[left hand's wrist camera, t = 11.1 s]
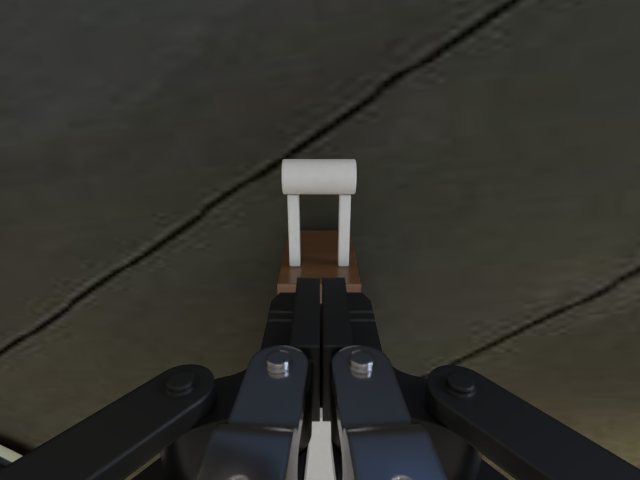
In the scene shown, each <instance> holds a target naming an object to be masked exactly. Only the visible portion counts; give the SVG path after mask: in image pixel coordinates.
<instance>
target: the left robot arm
mask: <svg viewBox="0 0 640 480" xmlns="http://www.w3.org/2000/svg"><path fill="white" fill-rule="evenodd" d="M322 415H323V421H331V457H332V466H333V475H334V480H508V479H507V478H506V477H505V476H503V475H502V474H501V473H499V472H498V471H497V470H495V469H494V468H493V467H491V466H490V465H489V464H488V463H486V462H485V461H484V460H482V454H483V455H484V456H485V457H487V458H488V459H489V460H491V461H492V462H493V463H495V464H496V465H497V466H499V467H500V468H501V469H503V470H504V471H505V472H507V473H508V474H509V475H511V476H512V477H513V478H515V479H516V480H640V469H638V468H637V467H635V466H633V465H632V464H630V463H628V462H626V461H625V460H623V459H621V458H620V457H618V456H616V455H615V454H613V453H611V452H610V451H608V450H606V449H605V448H603V447H601V446H600V445H598V444H596V443H595V442H593V441H591V440H589V439H588V438H586V437H584V436H583V435H581V434H579V433H578V432H576V431H574V430H573V429H571V428H569V427H568V426H566V425H564V424H563V423H561V422H559V421H558V420H556V419H554V418H553V417H551V416H549V415H547V414H546V413H544V412H542V411H541V410H539V409H537V408H536V407H534V406H532V405H531V404H529V403H527V402H526V401H524V400H522V399H521V398H519V397H517V396H516V395H514V394H512V393H511V392H509V391H507V390H505V389H504V388H502V387H500V386H499V385H497V384H495V383H494V382H492V381H490V380H489V379H487V378H485V377H484V376H482V375H480V374H479V373H477V372H475V371H473V370H470V369H468V368H465V367H461V366H454V365H446V366H441V367H438V368H436V369H434V370H433V371H431V372H430V374H429V375H428V378H427V379H425V378H421V377H417V376H412V375H409V374H406V373H403V372H401V371H399V370H397V369H395V368H394V367H392V365H391V362H390V360H389V358H388V357H387V356H386V355H385V354H384V353H383V352H382V349H381V345H380V340H379V336H378V332H377V327H376V323H375V319H374V314H373V310H372V306H371V301H370V300H369V299H368V298H367V297H366V296H365V295H364V294H363V293H362V292H347V290H346V282H345V277H322ZM312 422H320V277H297V283H296V291H295V292H280V293H279V294H278V295H277V296H276V297H275V298H274V299H273V300H272V302H271V306H270V311H269V315H268V322H267V324H266V329H265V333H264V338H263V343H262V347H261V350H260V351H259V352H257V353H256V354H255V355H254V356H253V357H252V358H251V360H250V362H249V365H248V368H247V369H246V370H244V371H242V372H240V373H237V374H234V375H231V376H227V377H222V378H218V379H214V376H213V374H212V372H211V371H210V370H209V369H207V368H205V367H203V366H200V365H192V364H189V365H181V366H177V367H174V368H171V369H169V370H167V371H165V372H163V373H161V374H160V375H158V376H156V377H155V378H153V379H151V380H150V381H148V382H146V383H145V384H143V385H141V386H140V387H138V388H136V389H135V390H133V391H131V392H130V393H128V394H126V395H124V396H123V397H121V398H119V399H118V400H116V401H114V402H113V403H111V404H109V405H108V406H106V407H104V408H103V409H101V410H99V411H98V412H96V413H94V414H93V415H91V416H89V417H87V418H86V419H84V420H82V421H81V422H79V423H77V424H76V425H74V426H72V427H71V428H69V429H67V430H66V431H64V432H62V433H61V434H59V435H57V436H56V437H54V438H52V439H51V440H49V441H47V442H45V443H44V444H42V445H40V446H39V447H37V448H35V449H34V450H32V451H30V452H29V453H27V454H25V455H24V456H22V457H20V458H19V459H17V460H15V461H14V462H12V463H10V464H9V465H7V466H5V467H3V468H2V469H0V480H124V479H125V478H127V477H128V476H129V475H131V474H132V473H133V472H135V471H136V470H137V469H139V468H140V467H141V466H143V465H144V464H145V463H147V462H148V461H149V460H151V459H152V458H153V457H155V456H156V455H157V454H158V453H160V455H161V457H160V458H159V459H158V460H156V461H155V462H154V463H152V464H151V465H150V466H149V467H147V468H146V469H145V470H143V471H142V472H141V473H139V474H138V475H137V476H135V477H134V478H133V479H132V480H306V475H307V466H308V457H309V442H310V440H311V435H312Z"/></svg>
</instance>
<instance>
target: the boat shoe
mask: <svg viewBox="0 0 640 480" xmlns="http://www.w3.org/2000/svg"><path fill="white" fill-rule="evenodd" d="M20 457H22V455H20V454H18V453H16V452H14V451H12V450H10V449H8V448H6V447H4V446H2V445H0V469H2V468H3V467H5V466H7V465H9V464H10V463H12V462H14V461H15V460H17V459H19V458H20Z"/></svg>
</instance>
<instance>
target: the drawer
mask: <svg viewBox="0 0 640 480" xmlns="http://www.w3.org/2000/svg"><path fill="white" fill-rule="evenodd" d="M356 178H357V171H356V160H355V159H283V161H282V190H283V194H288V196H287V202H288V234H287V239H286V244H285V248H284V253H283V258H282V262H281V267H280V272H279V276H278V281H277V295H278V294H279V293H280V292H295V291H296V283H297V277H320V408H322V277H345V282H346V290H347V292H361V286H362V285H361V280H360V275H359V270H358V265H357V260H356V256H355V251H354V246H353V241H352V236H351V231H350V210H351V195H350V194H355V191H356ZM299 194H339V219H338V230H300V204H299Z"/></svg>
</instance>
